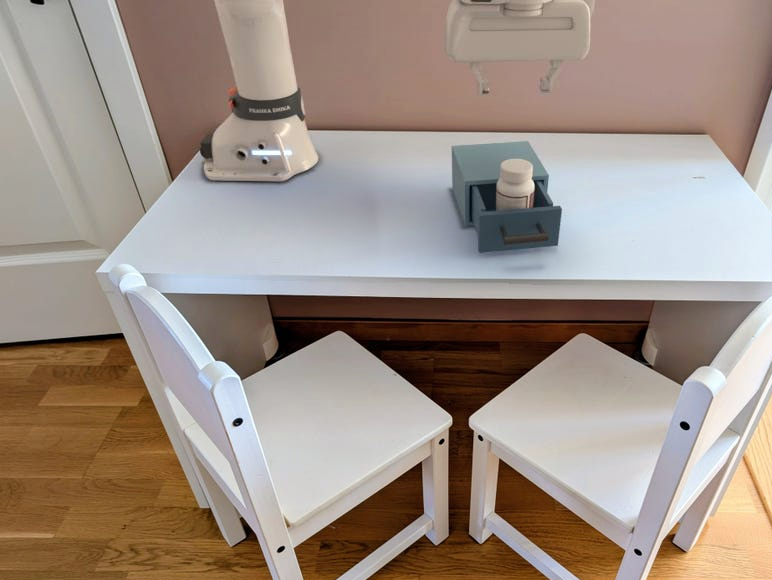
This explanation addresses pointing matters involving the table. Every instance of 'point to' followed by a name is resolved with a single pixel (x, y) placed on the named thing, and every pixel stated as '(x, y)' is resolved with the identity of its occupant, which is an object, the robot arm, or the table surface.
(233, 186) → the table surface
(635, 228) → the table surface
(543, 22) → the robot arm
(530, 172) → the pill bottle
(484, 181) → the cabinet
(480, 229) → the drawer
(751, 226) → the table surface
